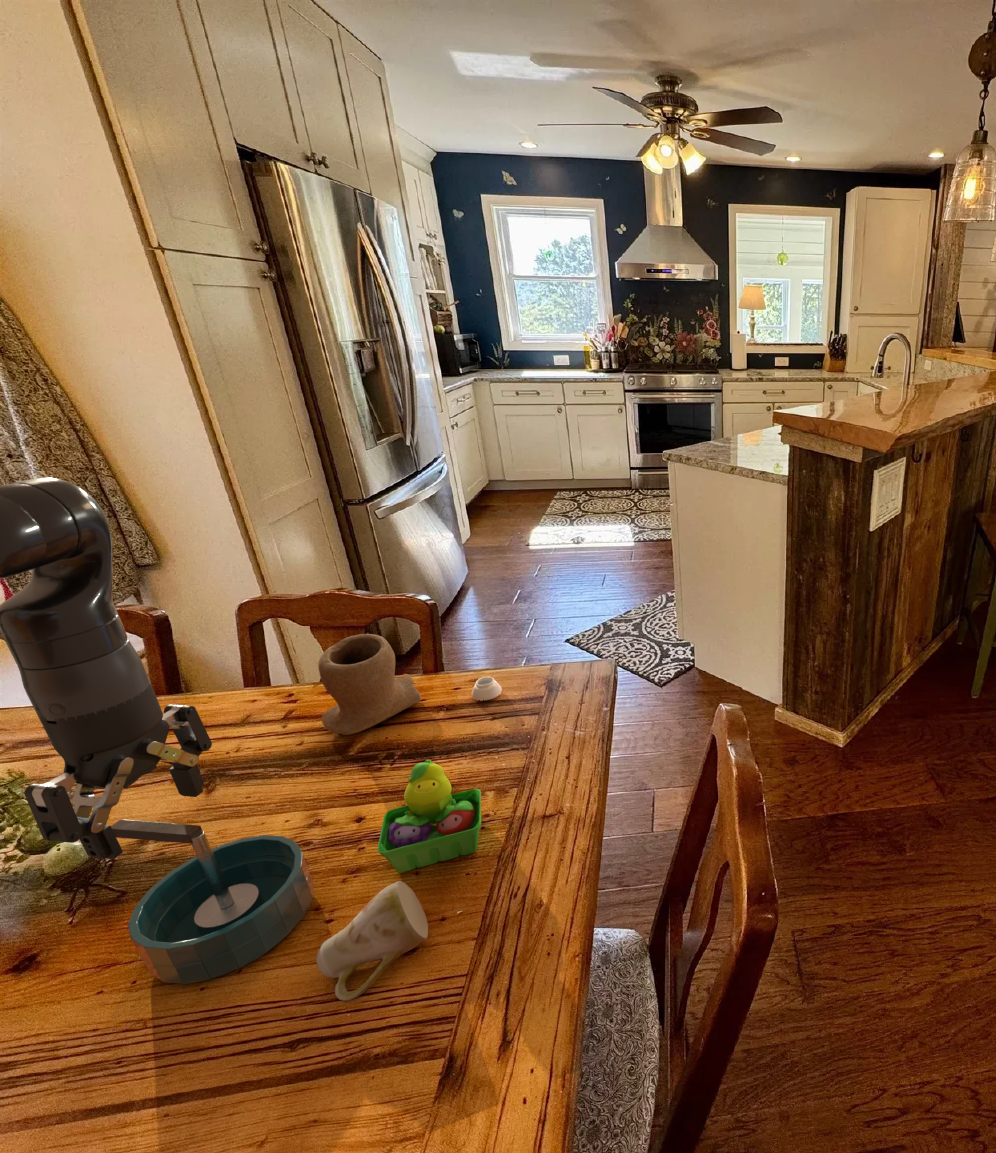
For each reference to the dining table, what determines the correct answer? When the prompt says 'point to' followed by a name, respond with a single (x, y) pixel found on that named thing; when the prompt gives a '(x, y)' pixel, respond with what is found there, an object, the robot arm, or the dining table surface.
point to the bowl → (188, 957)
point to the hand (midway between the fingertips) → (153, 823)
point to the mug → (374, 937)
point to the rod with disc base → (226, 900)
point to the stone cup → (363, 684)
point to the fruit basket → (430, 821)
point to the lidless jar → (486, 689)
